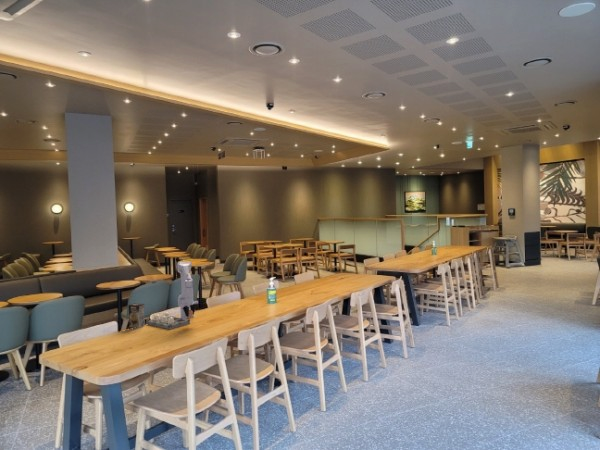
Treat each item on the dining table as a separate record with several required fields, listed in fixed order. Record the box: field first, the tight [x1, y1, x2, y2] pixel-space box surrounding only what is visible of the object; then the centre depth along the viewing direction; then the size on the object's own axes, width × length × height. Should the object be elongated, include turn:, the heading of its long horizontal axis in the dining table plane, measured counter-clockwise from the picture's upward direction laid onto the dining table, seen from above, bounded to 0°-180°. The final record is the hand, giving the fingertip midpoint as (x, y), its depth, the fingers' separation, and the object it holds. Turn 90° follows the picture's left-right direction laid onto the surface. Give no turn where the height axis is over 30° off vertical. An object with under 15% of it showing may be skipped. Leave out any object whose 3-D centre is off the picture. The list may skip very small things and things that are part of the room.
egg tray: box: [146, 311, 191, 330], centre depth 304 cm, size 18×26×7 cm
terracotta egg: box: [187, 309, 194, 319], centre depth 297 cm, size 4×4×6 cm
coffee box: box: [128, 302, 146, 329], centre depth 300 cm, size 9×6×16 cm
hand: (189, 315), depth 297 cm, fingers closed on terracotta egg, 4 cm apart
